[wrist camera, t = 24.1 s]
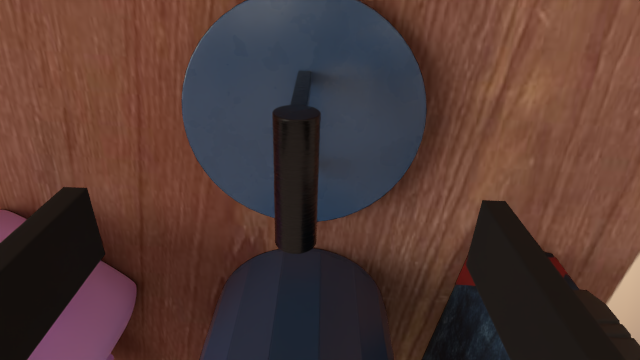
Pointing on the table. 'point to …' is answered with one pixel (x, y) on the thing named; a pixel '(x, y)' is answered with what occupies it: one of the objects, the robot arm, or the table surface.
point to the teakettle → (85, 312)
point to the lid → (303, 110)
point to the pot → (299, 311)
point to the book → (471, 324)
